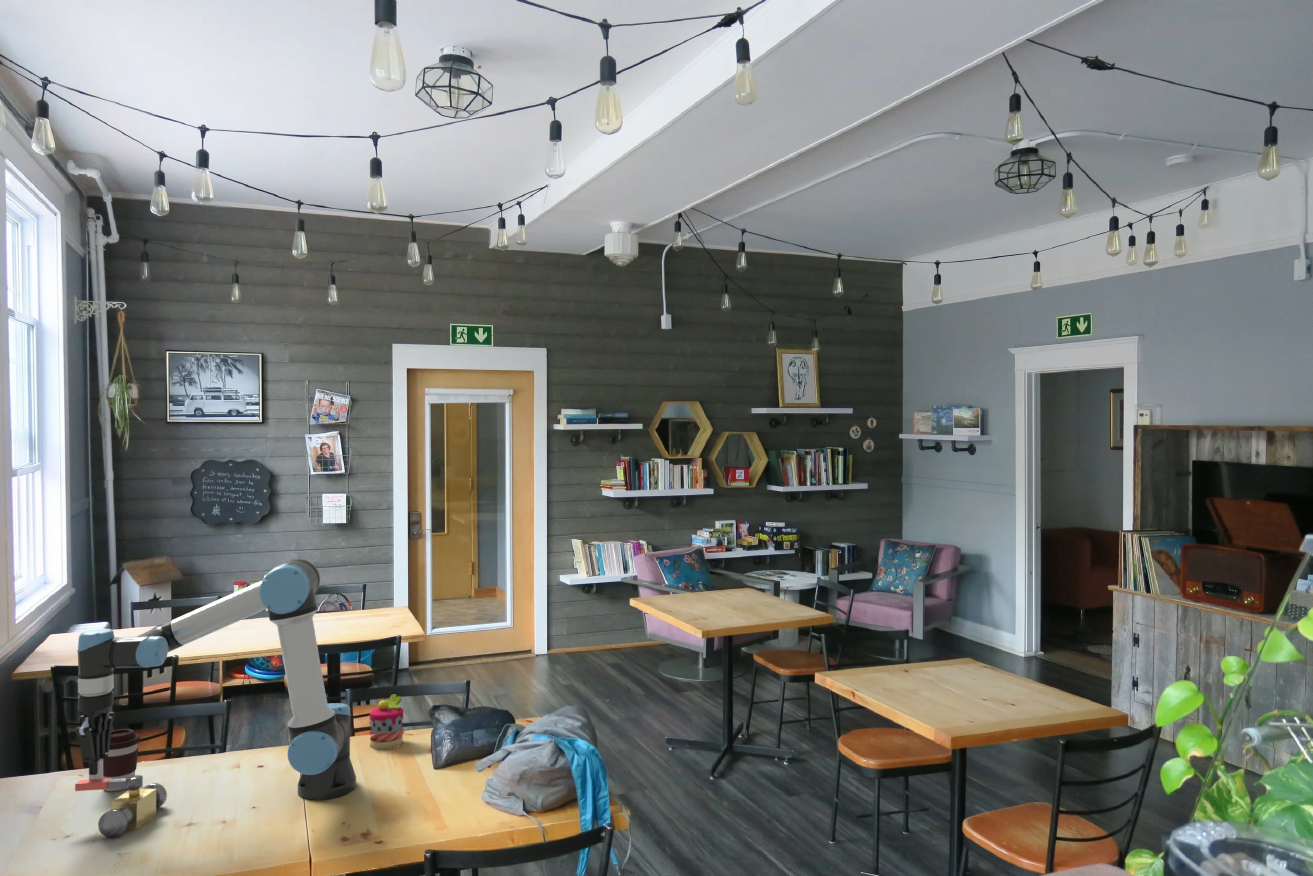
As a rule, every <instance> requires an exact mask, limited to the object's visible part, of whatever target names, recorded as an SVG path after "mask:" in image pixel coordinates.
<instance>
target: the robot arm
mask: <svg viewBox="0 0 1313 876" xmlns="http://www.w3.org/2000/svg"><path fill="white" fill-rule="evenodd" d="M320 585H321V576H320V572H319V570H318V568H317V566H315V564H314V563H312V562H311V561H308V560H305V559H301V558H296V559H292V560H288V561H286V562H284V563H282V564H281V565H276V566H274V567H273V568H272V569H270V570H269V572H267V573H266V574H265V575H264V577H263V578H262V580H260V581H257V582H255V583H254V584H251V585H248V586H247V587H244V588H242V589H239V590H237V591H236V592H232V593H230V594H228V595H226V596H223V597H222V598H221V597H220V598H219V599H217V600H214V601H212V602H210V603H208V604H206V605H203V606H201V607H198V608H196V609H194V610H192V611H190V612H187V613H185V614H183V615H181V616H179V617H176V618H174V619H171V620H169V621H167V622H165V623H161V624H159V625H156V626H154V627H153V628H151V629H150V630H148V631H145V632H144V633H142V634H140V635H138V636H128V637H117V636H116V637H115V634H114V633H115V632H114V630H113V629H112V628H111V629H110V628H95V629H89V630H86V631H83V632H81V633H80V634H79V636H78V642H77V643H78V644H77V651H76V652H77V668H78V670H77V672H78V674H77V676H78V677H77V685H78V687H77V690H78V691H77V692H78V694H79V695H78V696H77V709H78V711H80V712H82V713H83V716H82V725H81V726H80V727H76V728H75V733H76V735H77V737H78V741H79V742H78V743H79V749H80V754H81V759H82V762H83V763H88V780H91V779H103V758H107V757H108V754H105V753H108V752H109V747H110V739H111V732H112V731H113V722H114V719H115V716H116V712H115V711H110V708H111V707H112V706H114V701H115V700H114V698H115V694H114V693H115V692H114V691H113V689H114V688H115V684H114V683H115V682H114V679H115V678H114V671H115V670H114V669H128V668H129V669H130V668H131V669H133V668H146V669H147V668H151V667H160V666H162V665H163V664H165V661H166V660H167V657H168V653H169V652H170V653H171V652H172V651H174V650H177V649H179V648H181V647H183V646H185V645H187V644H190V643H192V642H194V641H196V640H199V639H201V638H204V637H205V636H208V635H211V634H213V633H215V632H217V631H219V630H222V629H224V628H227V627H228V626H230V625H233V624H235V623H238V622H240V621H242V620H244V619H247V618H249V617H251V616H254V615H256V614H258V613H260V612H262V611H265V610H267V613H268V619H269V621H270V622H271V623H272V624H275V625H276V626H277V634H278V638H279V644H280V650H281V655H282V662H283V667H284V672H285V678H286V685H287V690H288V696H289V702H290V708H291V714H292V717H291V718H290V720H289V721H288V722H287V727H288V733H289V740H290V743H289V745H288V748H287V760H288V762H289V765H290V767H292V769H293V770H295V771H296V772H298V773H300V777H299V779H298V782H297V795H298V796H299V797H300V798H303V799H306V800H307V799H308V800H327V799H334V798H338V797H342V796H344V795H347V794H348V793H350V792H352V791H353V790H354V789H355V788H356V787H357V775H356V772H355V770H354V767H353V763H352V760H351V757H350V756H351V753H350V752H351V716H352V714H351V707H350V705H348V704H346V703H343V702H341V703H340V702H335V703H333V702H331V703H328V699H327V694H326V689H325V683H324V678H323V671H322V665H321V661H320V660H321V659H320V653H319V648H318V642H317V637H316V636H317V635H316V630H315V625H314V619H313V617H314V616H315V615H316V613H317V612H318V606H317V598H316V593H317V591H318V590H319V588H320Z"/></svg>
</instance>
